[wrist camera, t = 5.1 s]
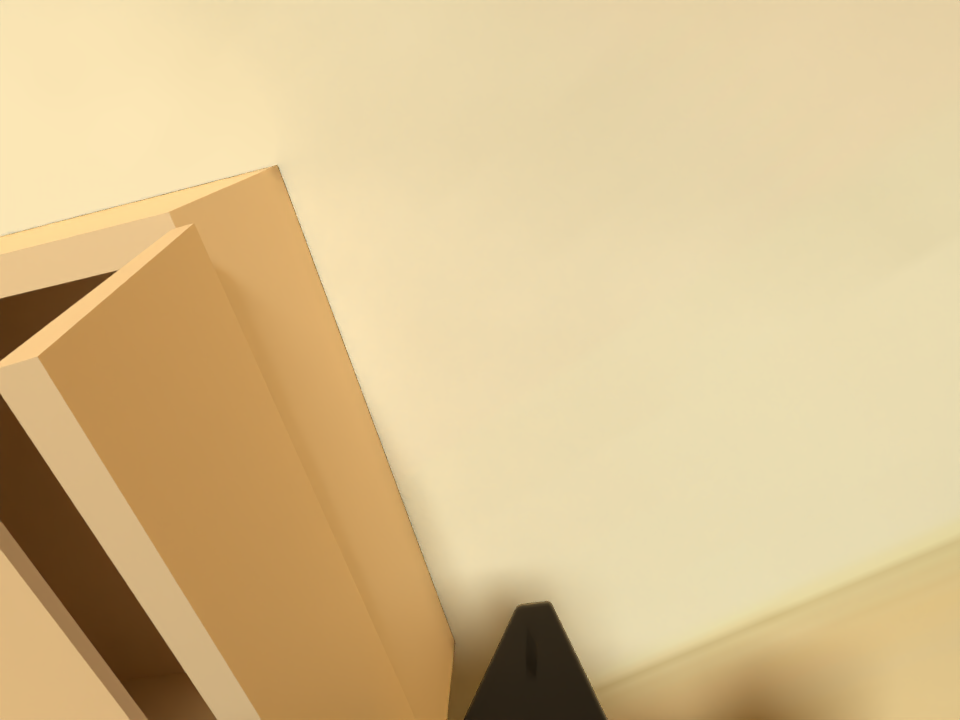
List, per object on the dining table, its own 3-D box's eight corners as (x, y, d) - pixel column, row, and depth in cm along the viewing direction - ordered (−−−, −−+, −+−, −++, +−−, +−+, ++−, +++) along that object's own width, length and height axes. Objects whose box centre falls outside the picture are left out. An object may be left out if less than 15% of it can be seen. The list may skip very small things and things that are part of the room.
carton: (277, 164, 12) (151, 219, 8) (455, 643, 18) (436, 818, 14) (-202, 289, 14) (-509, 386, 10) (101, 685, 20) (-10, 851, 16)
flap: (171, 229, 8) (193, 223, 8) (438, 805, 14) (451, 799, 14) (-14, 371, 4) (36, 356, 4) (495, 1138, 9) (514, 1129, 9)
